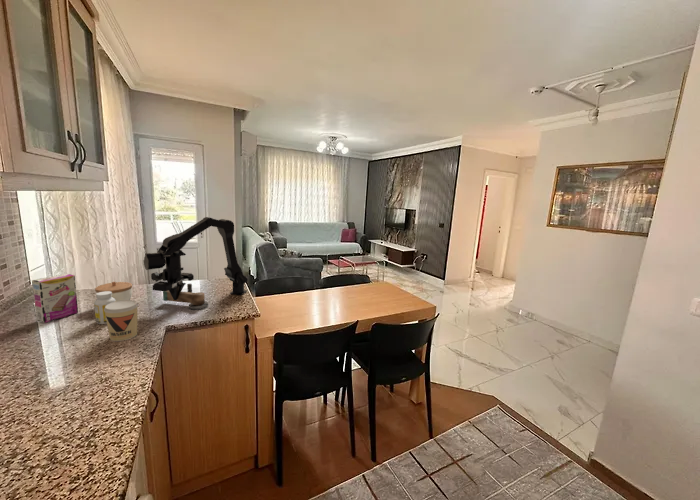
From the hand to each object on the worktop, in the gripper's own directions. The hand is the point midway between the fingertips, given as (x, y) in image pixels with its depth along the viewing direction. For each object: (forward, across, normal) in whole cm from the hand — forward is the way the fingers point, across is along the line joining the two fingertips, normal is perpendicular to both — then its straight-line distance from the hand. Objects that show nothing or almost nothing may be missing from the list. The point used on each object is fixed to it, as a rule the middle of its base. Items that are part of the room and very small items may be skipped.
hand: (175, 299), depth 129 cm
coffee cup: (+4, +27, 0) cm, 27 cm away
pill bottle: (+4, +18, -16) cm, 24 cm away
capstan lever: (+2, -4, +1) cm, 5 cm away
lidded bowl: (+4, +4, -26) cm, 26 cm away
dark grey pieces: (+4, -10, +3) cm, 11 cm away
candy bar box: (+4, +19, -36) cm, 41 cm away
